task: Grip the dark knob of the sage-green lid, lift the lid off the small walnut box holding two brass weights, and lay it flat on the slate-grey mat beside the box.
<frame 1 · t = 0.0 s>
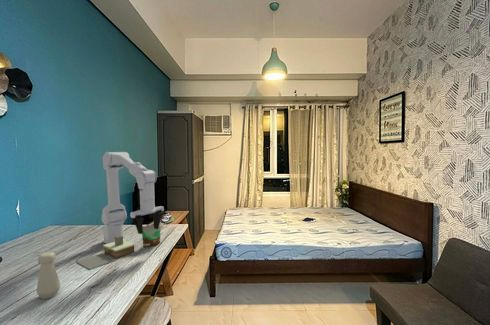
hand: (148, 231, 109), 10 cm above the table, tool pointing down, fingers open, 7 cm apart
salt shaker: (49, 296, 79), on the table
lid: (119, 245, 112), point 3 cm above the table, touching box
mat: (96, 261, 103), on the table
box: (119, 252, 112), on the table
food container: (155, 244, 122), on the table
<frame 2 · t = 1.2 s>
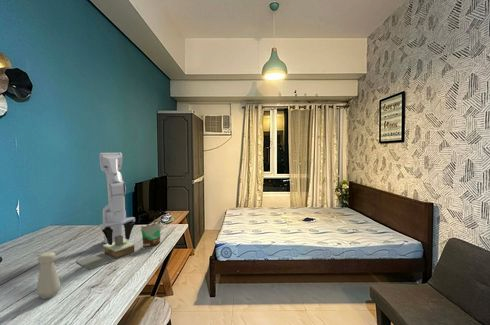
hand: (119, 241, 112), 5 cm above the table, tool pointing down, fingers open, 7 cm apart
nothing on the table moved.
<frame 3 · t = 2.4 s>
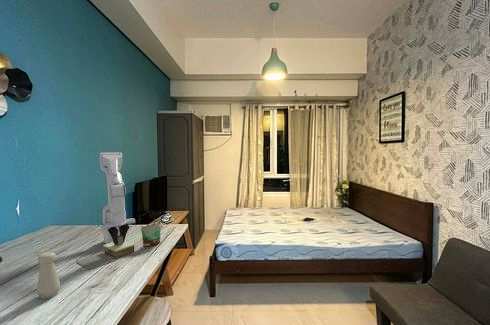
hand: (119, 243, 112), 4 cm above the table, tool pointing down, fingers closed on lid, 2 cm apart
lid: (119, 245, 112), point 3 cm above the table, touching box, gripper
everything else where it was.
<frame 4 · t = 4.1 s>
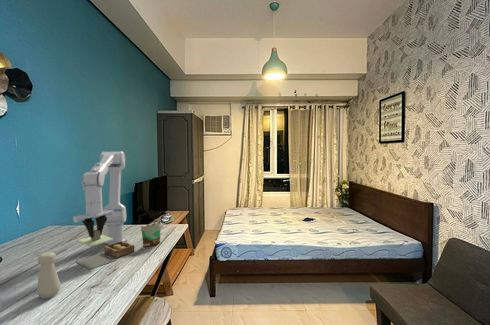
hand: (95, 236, 103), 10 cm above the table, tool pointing down, fingers closed on lid, 2 cm apart
lid: (95, 240, 103), point 8 cm above the table, touching gripper
everything else where it was.
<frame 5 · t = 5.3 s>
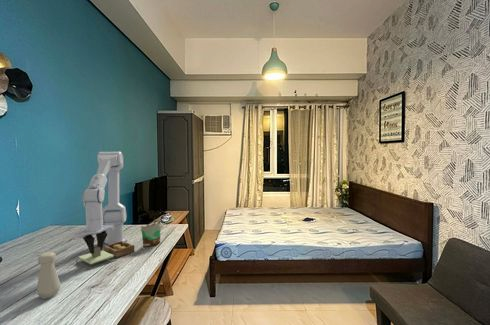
hand: (95, 252, 103), 4 cm above the table, tool pointing down, fingers closed on lid, 2 cm apart
lid: (96, 257, 103), point 2 cm above the table, touching gripper
everything else where it was.
when the fingers open (3 cm above the table, at t = 6.1 s): lid stays where it is, resting on mat.
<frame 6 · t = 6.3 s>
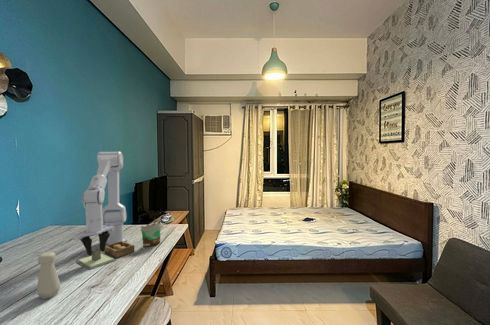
hand: (95, 252, 103), 3 cm above the table, tool pointing down, fingers open, 4 cm apart
lid: (96, 260, 103), resting on mat
everything else where it was.
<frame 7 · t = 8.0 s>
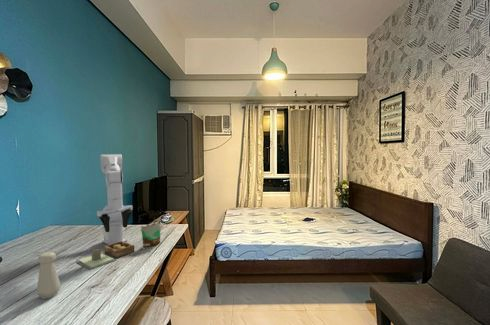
hand: (116, 229, 112), 10 cm above the table, tool pointing down, fingers open, 7 cm apart
nothing on the table moved.
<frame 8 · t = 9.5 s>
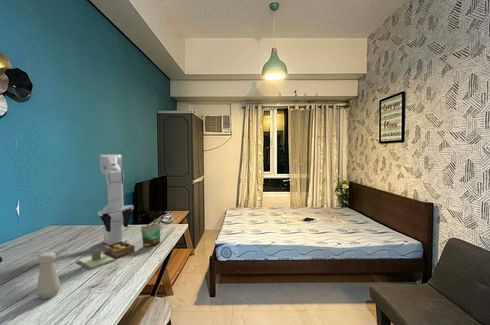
hand: (117, 229, 112), 10 cm above the table, tool pointing down, fingers open, 7 cm apart
nothing on the table moved.
at the end: lid inside the target area on the mat (0.0 cm from its centre), point 0.3 cm above the mat's base; lid tilted 0°; lid touching mat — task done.
